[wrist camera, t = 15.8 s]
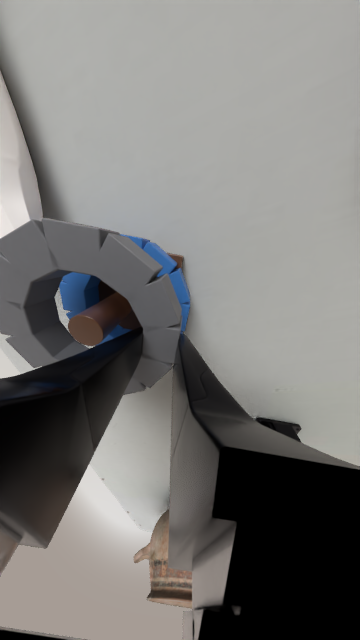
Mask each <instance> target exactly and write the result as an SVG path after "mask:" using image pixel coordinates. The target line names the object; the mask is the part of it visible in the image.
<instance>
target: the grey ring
mask: <svg viewBox="0 0 360 640" xmlns="http://www.w3.org/2000/svg"><path fill="white" fill-rule="evenodd" d="M162 269H163V266H161V265H160V264H159V263H158V262H157V261H155V260H154V259H153V258H152V257H151V256H150V255H148V254H147V253H146V252H145V251H144V250H143V249H141V248H140V247H139V246H138V245H137V244H135V243H134V242H133V241H132V240H131V239H130V238H128V237H125V236H120V233H118V232H114V231H110V230H106V229H102V228H98V227H93V226H87V225H82V224H76V223H71V222H65V221H60V220H54V219H49V218H42V221H39V220H30V221H28V222H27V223H25V224H23V225H22V226H20V227H19V228H17V229H15V230H14V231H12V232H10V233H9V234H7V235H5V236H4V237H2V238H0V333H1V334H5V335H11V337H9V338H7V339H6V341H7V342H8V343H9V344H10V345H11V346H12V347H13V348H14V349H15V350H16V351H17V352H18V353H19V354H20V355H21V356H22V357H23V358H24V359H25V360H26V361H27V362H28V363H29V364H30V365H31V366H32V367H33V368H36V367H39V366H42V367H43V366H46V365H49V364H52V363H54V362H57V361H60V360H63V359H65V358H68V357H71V356H73V355H76V354H78V353H81V352H83V351H86V350H88V349H89V348H87V347H86V346H84V345H82V344H81V343H79V342H77V341H76V340H75V339H74V338H73V337H72V336H71V334H70V333H69V332H68V330H67V329H66V328H65V327H64V325H63V324H62V323H61V322H60V320H59V315H58V311H57V307H56V302H55V298H54V297H55V295H56V292H57V290H58V287H59V285H60V283H61V280H62V278H63V276H65V275H67V274H70V273H72V272H75V273H80V274H86V275H92V276H96V277H97V278H99V279H100V280H102V281H103V282H104V283H106V284H107V285H108V286H110V287H111V288H112V289H114V290H115V291H117V292H118V293H119V294H121V295H122V296H123V297H125V298H126V299H127V300H128V301H129V303H130V305H131V307H132V309H133V311H134V313H135V314H136V316H137V318H138V320H139V322H140V324H141V326H142V327H143V346H142V356H141V358H140V361H139V364H138V366H137V368H136V370H135V372H134V374H133V376H132V378H131V380H130V382H129V384H128V386H127V388H126V390H125V392H124V394H123V395H125V394H130V393H135V392H139V391H144V390H145V389H146V386H147V387H149V388H150V387H152V386H153V385H154V384H155V383H156V382H157V381H158V380H159V379H160V378H161V377H163V376H164V375H165V374H166V373H167V372H168V371H169V370H170V369H171V367H172V364H174V359H175V354H176V349H177V344H178V339H179V337H180V332H181V324H182V315H181V312H182V308H181V306H180V303H179V301H178V298H177V296H176V293H175V291H174V288H173V285H172V283H171V280H170V278H169V275H168V273H166V274H164V275H161V276H159V277H157V276H158V274H159V273H160V271H161V270H162Z"/></svg>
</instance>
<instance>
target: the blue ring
mask: <svg viewBox="0 0 360 640" xmlns="http://www.w3.org/2000/svg"><path fill="white" fill-rule="evenodd" d="M120 236H125V237H128V238H130V239H131V240H132V241H133V242H134V243H135V244H137V245H138V246H139V247H140V248H141V249H143V250H144V251H145V252H146V253H147V254H148V255H150V256H151V257H152V258H153V259H154V260H155V261H157V262H158V263H159V264H160V265H161V266H163V269H162V270H161V271H160V273H159V274H158V276H157V277H159V276H161V275H164V274H166V273H168V275H169V278H170V280H171V283H172V285H173V288H174V291H175V293H176V296H177V298H178V301H179V303H180V306H181V308H182V312H181V315H182V324H181V332H180V334H183V331H185V328H186V323H187V318H188V314H189V309H190V293H189V290H188V287H187V284H186V281H185V279H184V276H183V273H182V270H181V268H178V269H176V270H174V268H175V267H176V266H177V262H176V261H174V260H173V259H172V258H171V257H170V256H169V255H168V254H167V253H165V252H164V251H163V250H162V249H161V248H160V247H159V246H158V245H156V244H155V243H151V242H150V240H147V239H143V238H138V237H132V236H127V235H122V234H120ZM62 280H63V281H61V283H60V285H59V288H60V293H61V298H62V303H63V308H64V310H68V311H71V312H69V313H67V314H66V315H67V316H68V318H69V319H71V318H72V317H74V316H75V315H77V314H79V313H81V312H82V311H84V310H86V309H88V308H90V307H91V306H93V305H95V304H97V303H98V302H99V291H98V285H99V283H100V281H101V280H100V279H99V278H97V277H96V276H92V275H86V274H80V273H75V272H72V273H70V274H67V275H65V276H63V278H62ZM129 331H132V330H130V329H125V328H123V327H121V326H120V325H117V326H116V327H115V328H114V329H113V330H112V331H111V333H110V334H109V335H108V336H107V337H106V338H105V339H104V340H103V341H102V342H101V343H99V344H102V343H104V342H106V341H109V340H111V339H113V338H116V337H118V336H120V335H123V334H125V333H127V332H129ZM99 344H98V345H99ZM95 346H97V345H95Z"/></svg>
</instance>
